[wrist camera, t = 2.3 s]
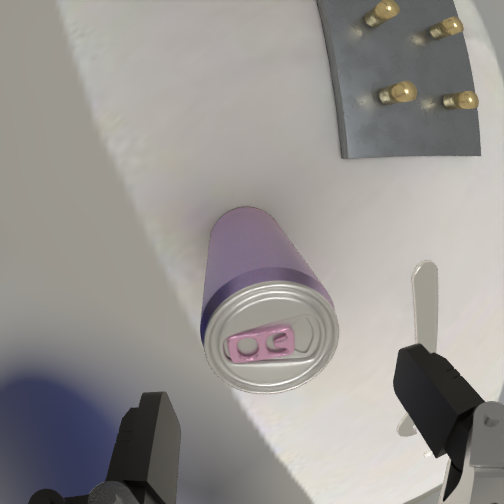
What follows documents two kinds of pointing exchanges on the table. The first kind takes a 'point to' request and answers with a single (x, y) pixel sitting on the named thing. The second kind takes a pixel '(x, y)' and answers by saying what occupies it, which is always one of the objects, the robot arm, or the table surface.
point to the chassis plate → (400, 78)
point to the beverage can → (263, 307)
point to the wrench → (423, 319)
